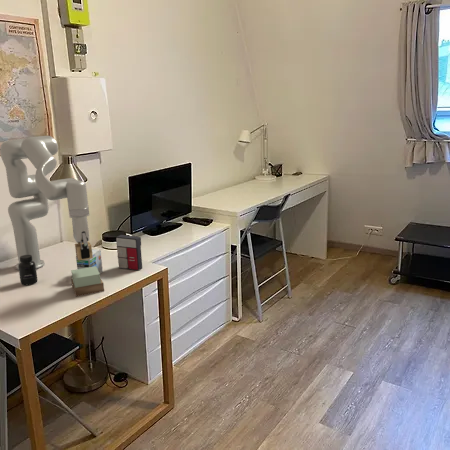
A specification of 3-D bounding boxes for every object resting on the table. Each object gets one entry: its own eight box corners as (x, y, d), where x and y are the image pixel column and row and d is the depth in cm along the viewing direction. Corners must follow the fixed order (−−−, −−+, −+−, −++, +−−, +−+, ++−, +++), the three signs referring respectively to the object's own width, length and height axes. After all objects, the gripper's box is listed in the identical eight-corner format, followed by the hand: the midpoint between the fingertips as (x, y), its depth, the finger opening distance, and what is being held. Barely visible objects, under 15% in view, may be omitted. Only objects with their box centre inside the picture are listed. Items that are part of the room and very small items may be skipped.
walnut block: (72, 288, 192) (71, 279, 190) (98, 282, 196) (98, 274, 195) (76, 297, 182) (75, 288, 181) (104, 292, 187) (103, 283, 185)
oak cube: (76, 256, 186) (74, 243, 185) (90, 254, 189) (88, 241, 187) (78, 260, 181) (77, 247, 180) (92, 258, 184) (91, 245, 182)
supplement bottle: (27, 287, 193) (23, 260, 189) (17, 284, 196) (13, 257, 193) (41, 281, 198) (37, 255, 195) (31, 278, 202) (27, 252, 199)
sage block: (72, 279, 190) (71, 270, 189) (97, 275, 194) (96, 266, 193) (75, 287, 181) (74, 278, 180) (100, 283, 185) (99, 274, 184)
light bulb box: (92, 280, 198) (89, 256, 195) (77, 279, 199) (75, 256, 196) (103, 271, 208) (101, 248, 205) (89, 270, 209) (87, 248, 206)
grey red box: (117, 268, 211) (114, 237, 207) (123, 265, 215) (120, 234, 211) (138, 271, 207) (135, 239, 203) (143, 267, 211) (140, 236, 207)
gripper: (65, 209, 186) (71, 251, 191) (72, 218, 171) (78, 264, 176) (84, 207, 189) (89, 248, 194) (93, 215, 174) (98, 260, 179)
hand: (84, 255), depth 185 cm, fingers closed on oak cube, 5 cm apart
